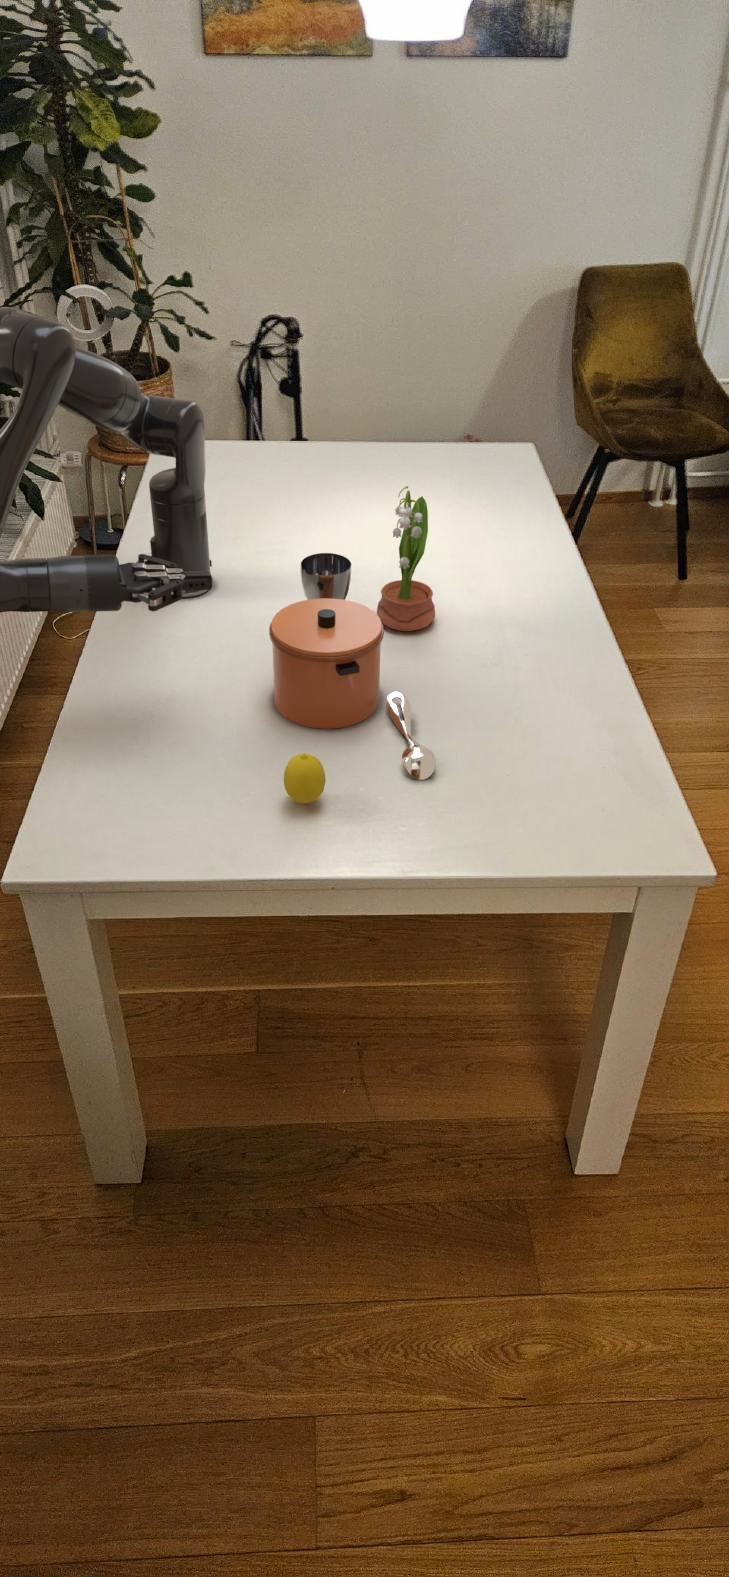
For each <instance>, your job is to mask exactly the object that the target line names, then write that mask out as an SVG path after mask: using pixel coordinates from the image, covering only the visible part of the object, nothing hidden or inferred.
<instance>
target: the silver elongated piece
mask: <svg viewBox="0 0 729 1577" xmlns="http://www.w3.org/2000/svg"><path fill="white" fill-rule="evenodd" d="M394 699H399V700H401V702H400V708H401V711H402V716H403V719H404V720H401V718H400V713H399V709H398V706H397V704H396V703H394V702H393V700H394ZM385 703H386V708H387V711H388V713H389V716H390V718H391V721H392V722H393V724H394V725H395V727H396V729H397V730H398V731H399V732H400V734H402V735H403V736H404V737H405V738H406V739H407V746H406V747H405V749H404V750H403V751H402V753H401V760H402V763H403V765H404V768H405V769H406V771H407V773H408V774H409V775H410V776H411V777H412V778H414V779H416V780H419V781H421V780H422V781H423V780H426V779H428V778H429V777H431V776H432V774H433V773H434V771H435V769H436V765H437V758H436V756H435V753H434V752H433V751H432V750H431V749H429V748H428V747H426V746H425V745H422V744H420V743H419V742H418V741H417V740H415V739H414V737H413V735H412V729H411V728H412V727H411V724H412V722H411V718H412V715H411V705H410V702H409V698H408V697H407V696H406V694H404V693H403V692H399V691H393V692H391V693H390V694H388V695H387V697H386V702H385Z"/></svg>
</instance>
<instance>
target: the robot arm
mask: <svg viewBox="0 0 729 1577" xmlns="http://www.w3.org/2000/svg"><path fill="white" fill-rule="evenodd" d="M0 382H1V383H4V384H7V385H9V386H11V387H15V388H17V389H20V390H21V393H20V395H19V398H18V401H17V404H16V405H15V408H14V410H13V412H12V414H11V415H10V417H9V418H8V420H7V421H6V422H5V423H4V424H3V425H2V427H1V428H0V538H1V537H2V536H3V532H4V529H5V526H6V523H7V520H8V517H9V514H10V510H11V508H12V504H13V501H14V498H15V495H16V493H17V490H18V487H19V485H20V483H21V480H22V477H23V475H24V473H25V470H26V468H27V466H28V464H29V463H30V460H31V459H32V457H33V455H34V453H35V451H36V449H37V447H38V445H39V443H40V441H41V440H42V438H43V436H44V434H45V432H46V430H47V428H48V426H49V424H50V422H51V420H52V419H53V416H54V414H55V412H56V410H57V408H58V406H59V407H61V408H62V409H64V410H66V411H67V412H70V413H71V414H72V415H74V416H76V417H78V418H79V419H81V420H83V421H85V422H88V423H90V424H92V425H94V426H96V427H98V428H101V429H103V430H106V431H109V432H110V433H114V434H118V435H120V436H122V437H123V438H124V439H126V440H127V441H129V443H131V444H132V445H133V446H135V447H136V448H138V449H139V450H140V451H142V452H144V453H147V454H151V455H155V456H161V457H168V458H174V459H175V467H172V468H168V469H165V470H162V471H159V472H157V473H155V474H154V475H152V476H151V478H150V479H149V483H148V488H149V489H148V490H149V497H150V498H149V499H150V508H151V516H152V517H151V518H152V526H153V534H154V535H152V537H150V539H149V542H150V543H149V544H150V554H151V555H148V554H145V553H140V554H138V556H137V561H136V562H126V563H120V562H119V558H118V556H116V555H115V554H87V555H86V554H84V555H81V554H80V555H60V556H55V557H47V558H46V557H37V558H34V557H33V558H32V557H31V558H15V559H9V560H6V561H0V614H1V613H6V612H12V613H13V612H15V613H39V612H40V613H41V612H58V613H59V612H60V613H92V612H97V613H98V612H116V611H118V612H119V611H120V610H121V609H122V603H123V602H130V603H134V604H136V603H141V602H143V603H145V604H147V605H148V606H147V607H148V608H147V609H148V611H149V612H157V611H159V610H161V609H163V608H165V607H168V606H170V605H172V604H174V603H176V602H179V601H181V600H182V599H183V598H192V597H197V596H200V595H204V594H205V593H207V592H208V591H209V590H211V589H212V588H213V576H212V573H211V568H212V567H213V562H212V560H211V559H210V546H209V532H208V519H207V504H206V492H205V483H206V482H205V481H206V432H205V420H204V419H205V418H204V414H203V411H202V409H201V407H200V405H199V404H198V403H197V402H196V401H194V400H193V401H192V400H189V399H181V398H174V397H173V398H172V397H168V396H167V397H166V396H159V395H150V394H144V393H142V391H141V387H140V385H139V383H138V381H137V379H136V378H135V377H134V376H133V374H131V372H129V371H128V370H126V369H125V368H124V367H122V366H121V365H119V364H118V363H116V362H114V361H112V360H111V359H109V358H106V357H104V356H102V355H100V354H98V353H95V352H93V351H89V350H88V349H85V348H82V347H79V346H77V345H76V340H75V338H74V335H73V334H72V332H71V330H70V329H69V328H68V327H67V326H66V325H64V324H62V323H60V322H58V321H56V320H54V319H50V318H48V317H44V316H42V315H38V314H35V313H34V312H33V313H32V312H29V311H27V310H23V309H21V308H17V307H11V306H2V307H0Z"/></svg>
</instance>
